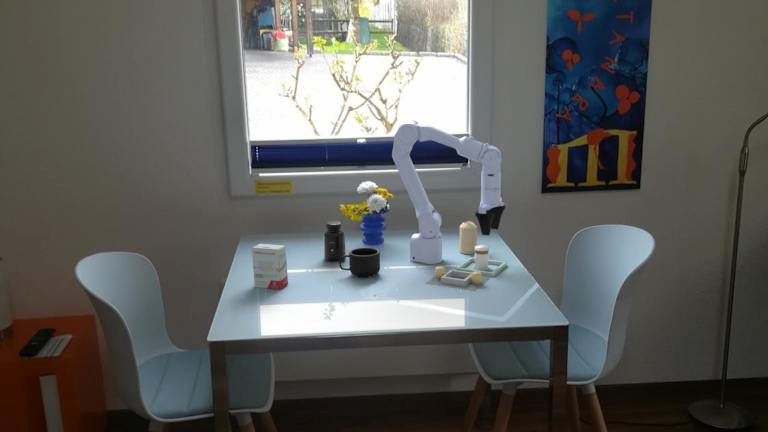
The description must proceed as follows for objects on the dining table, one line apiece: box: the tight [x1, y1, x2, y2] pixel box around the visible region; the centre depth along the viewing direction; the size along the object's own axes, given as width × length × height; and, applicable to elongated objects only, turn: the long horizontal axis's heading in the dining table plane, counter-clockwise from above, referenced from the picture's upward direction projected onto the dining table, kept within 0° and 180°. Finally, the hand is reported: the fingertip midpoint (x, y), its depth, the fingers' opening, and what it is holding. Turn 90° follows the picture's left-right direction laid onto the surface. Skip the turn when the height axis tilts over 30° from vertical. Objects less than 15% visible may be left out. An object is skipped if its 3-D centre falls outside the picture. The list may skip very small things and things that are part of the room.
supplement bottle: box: [322, 220, 347, 263], centre depth 223 cm, size 7×7×12 cm
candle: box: [459, 220, 478, 255], centre depth 228 cm, size 6×6×10 cm
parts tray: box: [455, 257, 508, 278], centre depth 210 cm, size 12×12×2 cm
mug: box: [338, 247, 381, 279], centre depth 208 cm, size 12×9×7 cm
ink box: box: [251, 243, 289, 290], centre depth 200 cm, size 9×5×12 cm, turn 71°
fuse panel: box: [425, 265, 491, 292], centre depth 199 cm, size 15×12×4 cm
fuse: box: [474, 244, 490, 271], centre depth 209 cm, size 4×4×7 cm
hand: (490, 231), depth 213 cm, fingers open, 7 cm apart
